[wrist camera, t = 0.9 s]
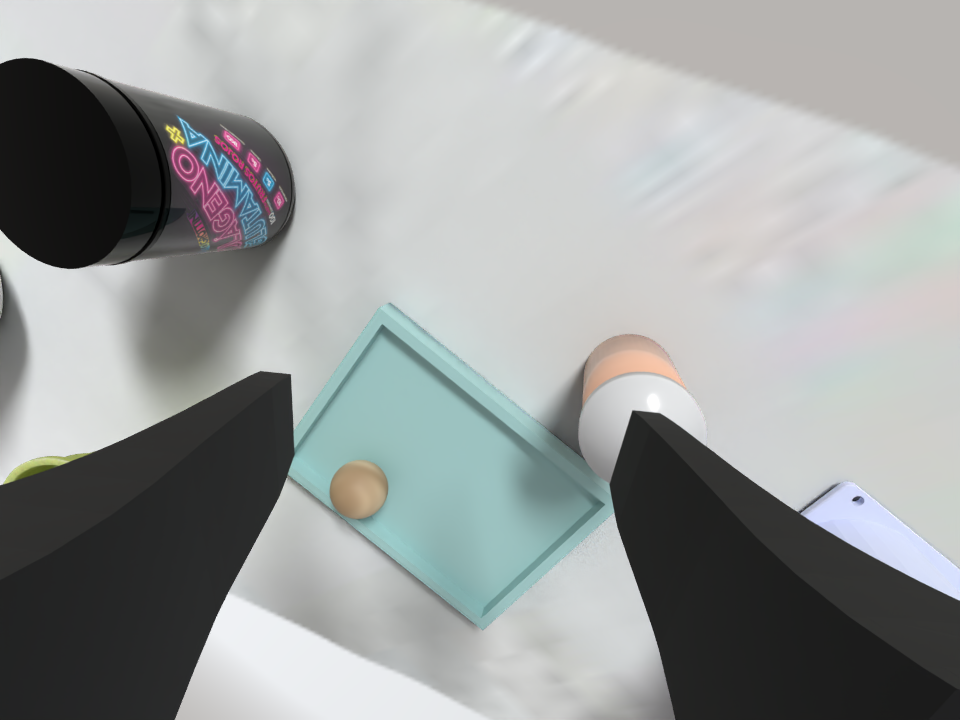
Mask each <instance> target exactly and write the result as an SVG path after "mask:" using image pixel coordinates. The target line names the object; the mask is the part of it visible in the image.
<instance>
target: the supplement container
mask: <svg viewBox="0 0 960 720" xmlns="http://www.w3.org/2000/svg"><path fill="white" fill-rule="evenodd" d="M294 197H295V184H294V177H293V172H292V168H291V165H290V162H289V160H288V157H287V155H286V153H285V151H284V150H283V148H282V147H281V145H280V144H279V142H278V141H277V140H276V138H275V137H274V136H273V135H272V134H271V133H270V132H269V131H268V130H267V129H266V128H265V127H263V126H262V125H261V124H259V123H258V122H256V121H255V120H253V119H251V118H249V117H246V116H243V115H240V114H236V113H232V112H228V111H225V110H221V109H217V108H214V107H210V106H206V105H202V104H199V103H195V102H191V101H188V100H184V99H180V98H176V97H173V96H169V95H165V94H161V93H158V92H154V91H150V90H147V89H143V88H139V87H135V86H132V85H128V84H124V83H121V82H117V81H113V80H109V79H106V78H104V77H101V76H99V75H97V74H94V73H91V72H87V71H83V70H78V69H72V68H69V67H65V66H61V65H58V64H54V63H50V62H46V61H43V60H38V59H31V58H20V59H13V60H9V61H6V62H4V63H1V64H0V230H1V231H2V232H3V233H4V234H5V235H6V236H7V238H8V239H10V240H11V241H12V242H13V243H14V244H15V245H16V246H17V247H18V248H20V249H21V250H22V251H24V252H25V253H27V254H28V255H29V256H31V257H33V258H35V259H36V260H38V261H41V262H43V263H45V264H48V265H51V266H54V267H59V268H66V269H77V268H86V267H95V266H103V265H119V264H124V263H128V262H131V261H140V260H149V259H157V258H166V257H175V256H184V255H193V254H201V253H210V252H219V251H228V250H237V249H245V248H253V247H257V246H260V245H263V244H265V243H267V242H268V241H270V240H271V239H273V238H274V237H275V236H276V235H277V234H278V233H279V232H280V231H281V230H282V229H283V227H284V226H285V224H286V223H287V221H288V219H289V217H290V214H291V212H292V208H293V204H294Z"/></svg>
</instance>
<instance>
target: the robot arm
mask: <svg viewBox="0 0 960 720" xmlns="http://www.w3.org/2000/svg"><path fill="white" fill-rule="evenodd" d="M294 455H295V452H294V431H293V411H292V390H291V374H282V373H273V372H263V371H260V372H258V373H255V374H253V375H251V376H249V377H247V378H245V379H243V380H241V381H239V382H237V383H235V384H233V385H231V386H229V387H227V388H226V389H224V390H222V391H220V392H218V393H216V394H214V395H212V396H211V397H209V398H207V399H205V400H203V401H201V402H199V403H197V404H195V405H193V406H192V407H190V408H188V409H186V410H184V411H182V412H180V413H178V414H176V415H174V416H172V417H170V418H168V419H166V420H164V421H162V422H159V423H157V424H155V425H153V426H151V427H149V428H147V429H145V430H143V431H141V432H138V433H136V434H134V435H132V436H130V437H128V438H126V439H124V440H121V441H119V442H117V443H115V444H112V445H110V446H108V447H105V448H103V449H100V450H98V451H96V452H93V453H91V454H88V455H85V456H83V457H80V458H78V459H75V460H73V461H70V462H67V463H65V464H62V465H60V466H57V467H54V468H51V469H49V470H46V471H43V472H40V473H37V474H34V475H31V476H28V477H25V478H22V479H19V480H16V481H13V482H10V483H6V484H3V485H0V720H175V718H176V715H177V712H178V710H179V707H180V705H181V702H182V699H183V697H184V695H185V692H186V690H187V687H188V684H189V682H190V679H191V677H192V674H193V672H194V669H195V667H196V664H197V662H198V659H199V657H200V655H201V652H202V650H203V647H204V645H205V643H206V640H207V638H208V635H209V633H210V631H211V628H212V626H213V623H214V621H215V619H216V616H217V614H218V612H219V610H220V608H221V606H222V604H223V602H224V600H225V598H226V596H227V594H228V592H229V590H230V588H231V586H232V584H233V582H234V581H235V579H236V577H237V575H238V573H239V571H240V569H241V568H242V566H243V564H244V562H245V560H246V558H247V556H248V555H249V553H250V551H251V549H252V547H253V545H254V543H255V542H256V540H257V538H258V536H259V534H260V532H261V530H262V529H263V527H264V525H265V523H266V521H267V519H268V517H269V515H270V513H271V511H272V510H273V508H274V506H275V504H276V502H277V500H278V498H279V496H280V493H281V491H282V488H283V486H284V483H285V480H286V478H287V475H288V472H289V469H290V466H291V464H292V461H293V458H294ZM609 486H610V491H611V497H612V503H613V508H614V513H615V517H616V522H617V527H618V530H619V533H620V536H621V539H622V542H623V545H624V548H625V551H626V554H627V557H628V559H629V562H630V565H631V568H632V571H633V574H634V577H635V579H636V582H637V585H638V588H639V591H640V594H641V597H642V599H643V602H644V605H645V608H646V611H647V614H648V616H649V619H650V622H651V625H652V628H653V632H654V635H655V638H656V641H657V645H658V648H659V652H660V656H661V660H662V664H663V668H664V672H665V677H666V681H667V685H668V689H669V693H670V697H671V701H672V706H673V711H674V715H675V720H960V569H959V568H957V567H956V566H955V565H954V564H953V563H951V562H950V561H949V560H948V559H946V558H945V557H944V556H943V555H942V554H940V553H939V552H938V551H937V550H935V549H934V548H933V547H932V546H931V545H929V544H928V543H927V542H926V541H924V540H923V539H922V538H921V537H920V536H918V535H917V534H916V533H915V532H913V531H912V530H911V529H910V528H909V527H907V526H906V525H905V524H904V523H902V522H901V521H900V520H899V519H898V518H896V517H895V516H894V515H893V514H891V513H890V512H889V511H888V510H887V509H885V508H884V507H883V506H882V505H881V504H879V503H878V502H877V501H876V500H874V499H873V498H872V497H871V496H870V495H868V494H867V493H866V492H865V491H863V490H862V489H861V488H860V487H859V486H857V485H856V484H854V483H853V482H848V481H847V482H842V483H840V484H839V485H837V486H836V487H835V488H833V489H832V490H831V491H829V492H828V493H827V494H825V495H824V496H823V497H821V498H820V499H819V500H817V501H816V502H815V503H814V504H812V505H811V506H810V507H808V508H807V509H806V510H804V511H803V512H802V513H800V514H799V513H798V512H796V511H795V510H793V509H792V508H790V507H789V506H787V505H786V504H784V503H783V502H781V501H780V500H779V499H777V498H776V497H774V496H773V495H771V494H770V493H768V492H767V491H765V490H764V489H763V488H761V487H760V486H758V485H757V484H756V483H754V482H753V481H751V480H750V479H749V478H747V477H746V476H745V475H743V474H742V473H740V472H739V471H738V470H736V469H735V468H734V467H732V466H731V465H730V464H728V463H727V462H726V461H725V460H723V459H722V458H721V457H719V456H718V455H717V454H715V453H714V452H713V451H711V450H710V449H709V448H708V447H706V446H705V445H704V444H702V443H701V442H700V441H699V440H697V439H696V438H695V437H693V436H692V435H691V434H689V433H688V432H687V431H685V430H684V429H683V428H681V427H680V426H679V425H677V424H676V423H675V422H673V421H672V420H670V419H669V418H667V417H666V416H664V415H663V414H661V413H655V412H646V411H636V410H632V413H631V416H630V419H629V423H628V426H627V429H626V432H625V435H624V439H623V442H622V445H621V448H620V452H619V455H618V458H617V461H616V464H615V468H614V471H613V474H612V477H611V481H610V484H609ZM856 496H860V499H859V500H857V501H852V499H853V498H854V497H856Z"/></svg>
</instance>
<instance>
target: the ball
mask: <svg viewBox="0 0 960 720" xmlns="http://www.w3.org/2000/svg"><path fill="white" fill-rule="evenodd" d="M387 495H388V480H387V477H386V475H385V473H384V472H383V470H382V469H381V468H380V467H379V466H378V465H376V464H375V463H373V462H370V461H367V460H355V461H351V462H348V463H346V464H345V465H343V466H342V467H341V468H339V469H338V471H337V472H336V473H335V474H334V476H333V478H332V480H331V484H330V499H331V502H332V504H333V506H334V507H335V509H336V510H337V511H338V512H339V513H340V514H342V515H344V516H346V517H348V518H352V519H363V518H367V517H369V516H371V515H373V514H375V513H376V512H377V511H378V510H379V509H380V508H381V507H382V506H383V504H384V503H385V501H386V498H387Z"/></svg>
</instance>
